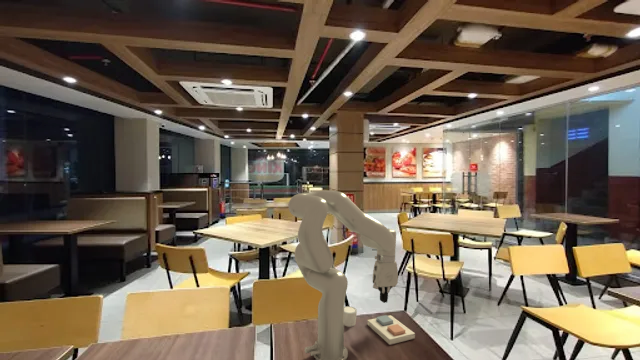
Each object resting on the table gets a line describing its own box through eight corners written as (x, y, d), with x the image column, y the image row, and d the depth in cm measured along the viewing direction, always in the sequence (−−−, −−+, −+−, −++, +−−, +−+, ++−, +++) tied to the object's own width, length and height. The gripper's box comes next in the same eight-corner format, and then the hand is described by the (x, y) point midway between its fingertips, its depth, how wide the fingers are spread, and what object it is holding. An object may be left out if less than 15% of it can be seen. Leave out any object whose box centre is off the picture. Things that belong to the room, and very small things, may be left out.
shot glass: (355, 330, 127) (356, 314, 127) (339, 328, 128) (340, 312, 128) (357, 322, 134) (357, 306, 134) (341, 320, 135) (342, 305, 135)
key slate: (383, 328, 125) (383, 322, 125) (376, 322, 130) (376, 317, 130) (393, 326, 127) (393, 320, 127) (386, 320, 132) (386, 315, 132)
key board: (389, 347, 115) (389, 339, 115) (367, 326, 130) (367, 319, 130) (414, 340, 120) (414, 333, 120) (390, 321, 135) (390, 315, 135)
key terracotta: (394, 338, 118) (394, 332, 118) (387, 332, 123) (387, 326, 123) (405, 336, 120) (405, 330, 120) (397, 329, 125) (397, 324, 124)
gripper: (375, 261, 121) (373, 307, 121) (405, 259, 127) (403, 302, 127) (365, 256, 128) (363, 299, 128) (394, 255, 134) (392, 296, 134)
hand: (383, 301), depth 128 cm, fingers closed
